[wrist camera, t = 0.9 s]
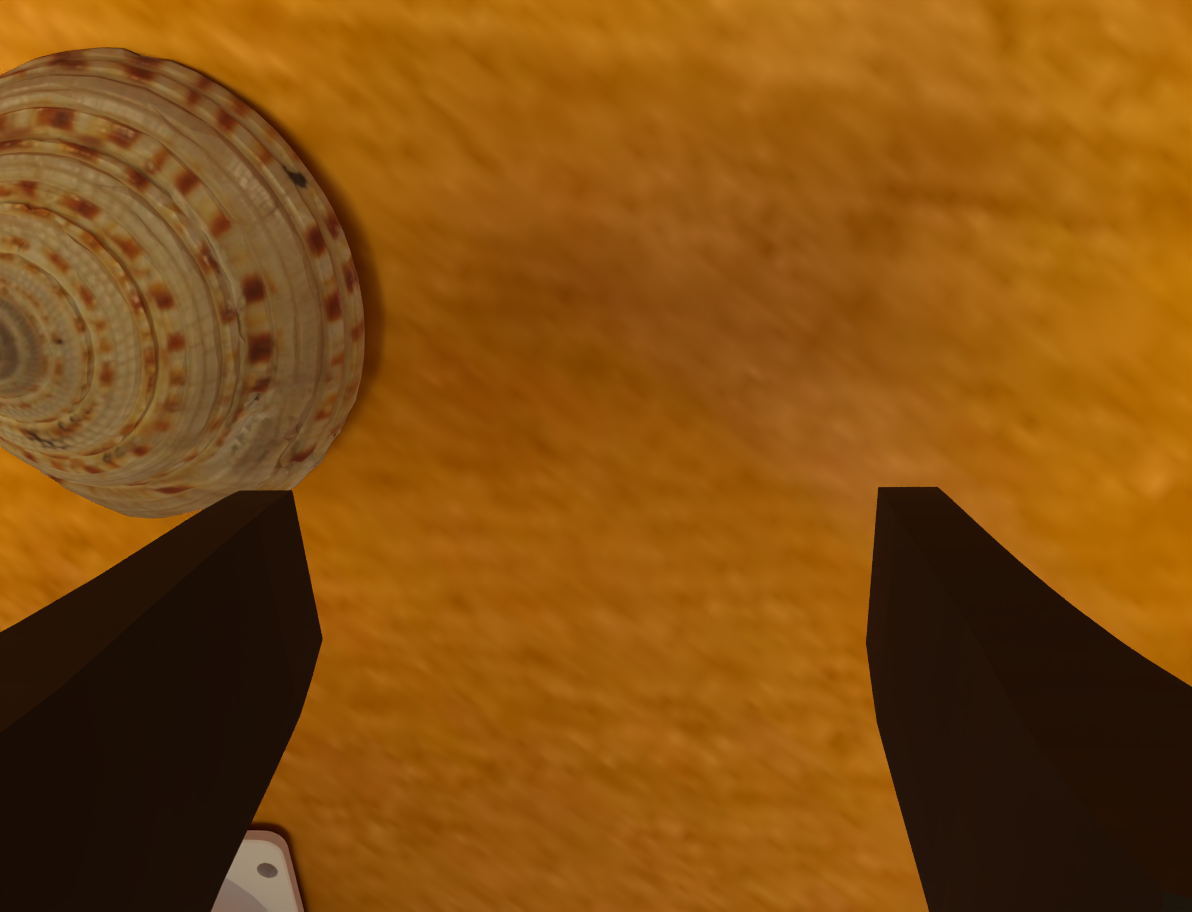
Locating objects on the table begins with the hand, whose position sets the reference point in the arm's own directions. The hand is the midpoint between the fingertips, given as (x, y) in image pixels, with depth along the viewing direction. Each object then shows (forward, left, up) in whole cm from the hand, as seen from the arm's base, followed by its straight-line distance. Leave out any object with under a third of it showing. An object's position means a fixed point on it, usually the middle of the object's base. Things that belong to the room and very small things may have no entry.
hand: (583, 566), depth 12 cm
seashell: (0, +9, -10) cm, 13 cm away
